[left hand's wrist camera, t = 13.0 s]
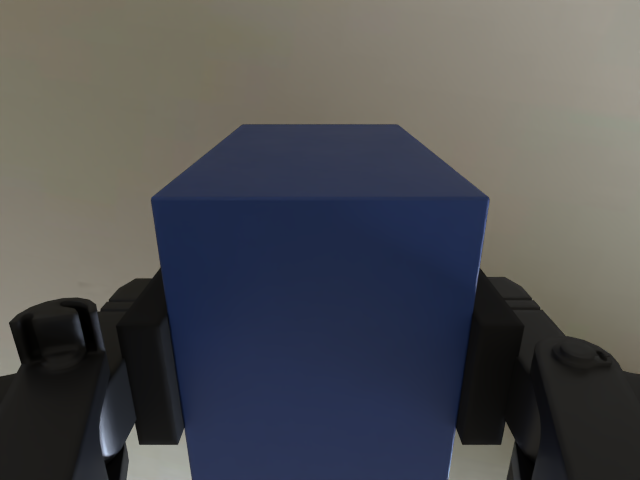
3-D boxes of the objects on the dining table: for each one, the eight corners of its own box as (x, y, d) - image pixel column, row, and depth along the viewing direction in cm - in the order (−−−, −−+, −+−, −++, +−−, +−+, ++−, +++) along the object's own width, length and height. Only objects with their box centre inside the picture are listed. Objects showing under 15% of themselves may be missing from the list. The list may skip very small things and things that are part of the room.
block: (252, 302, 18) (194, 508, 10) (241, 124, 16) (149, 197, 7) (387, 302, 18) (445, 508, 10) (398, 124, 16) (491, 196, 7)
